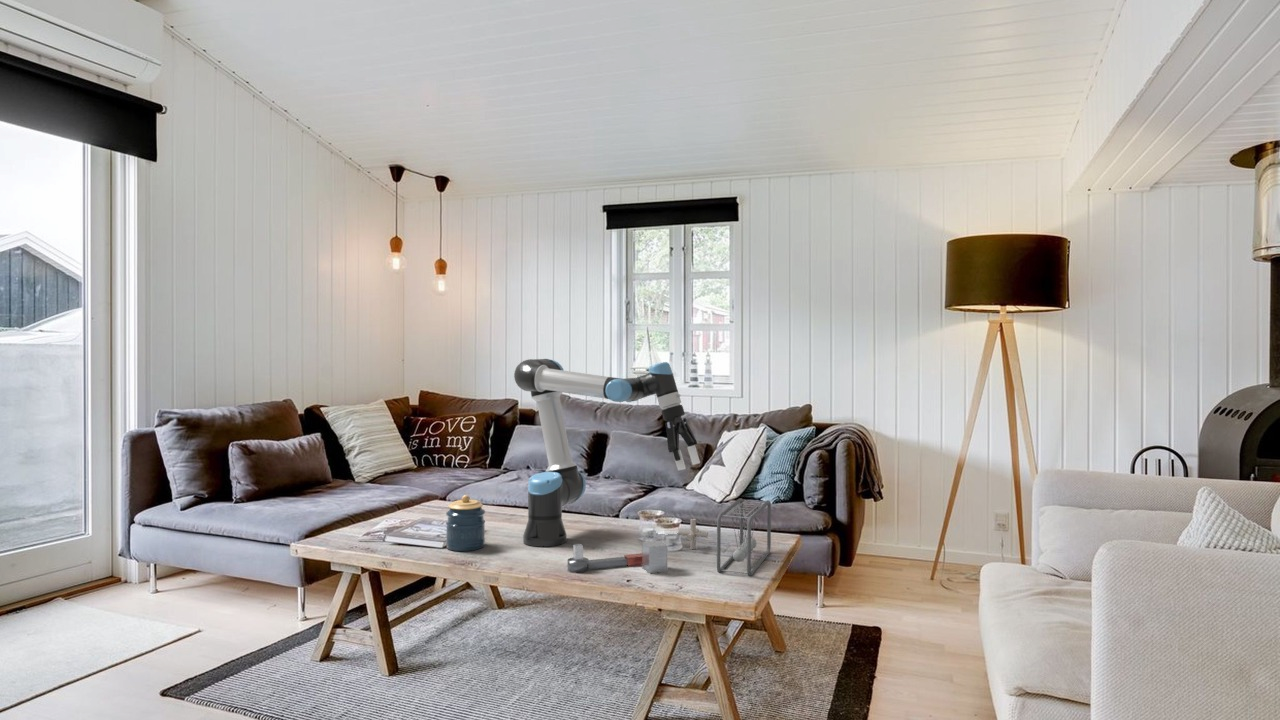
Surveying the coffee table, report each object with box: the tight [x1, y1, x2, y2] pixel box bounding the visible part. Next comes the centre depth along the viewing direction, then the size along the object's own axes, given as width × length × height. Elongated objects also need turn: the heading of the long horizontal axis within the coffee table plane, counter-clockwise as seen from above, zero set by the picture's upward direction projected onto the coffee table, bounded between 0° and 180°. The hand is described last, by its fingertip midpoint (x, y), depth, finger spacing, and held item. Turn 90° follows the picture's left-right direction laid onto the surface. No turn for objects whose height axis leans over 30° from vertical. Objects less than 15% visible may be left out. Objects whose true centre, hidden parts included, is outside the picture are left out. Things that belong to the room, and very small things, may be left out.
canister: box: [445, 494, 486, 552], centre depth 250 cm, size 13×13×18 cm
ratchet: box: [567, 543, 642, 574], centre depth 228 cm, size 6×27×8 cm, turn 110°
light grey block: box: [641, 540, 669, 574], centre depth 224 cm, size 6×6×8 cm
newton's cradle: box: [716, 498, 772, 577], centre depth 233 cm, size 30×10×18 cm, turn 158°
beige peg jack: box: [677, 518, 709, 550], centre depth 248 cm, size 10×10×10 cm
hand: (689, 467), depth 249 cm, fingers open, 13 cm apart
